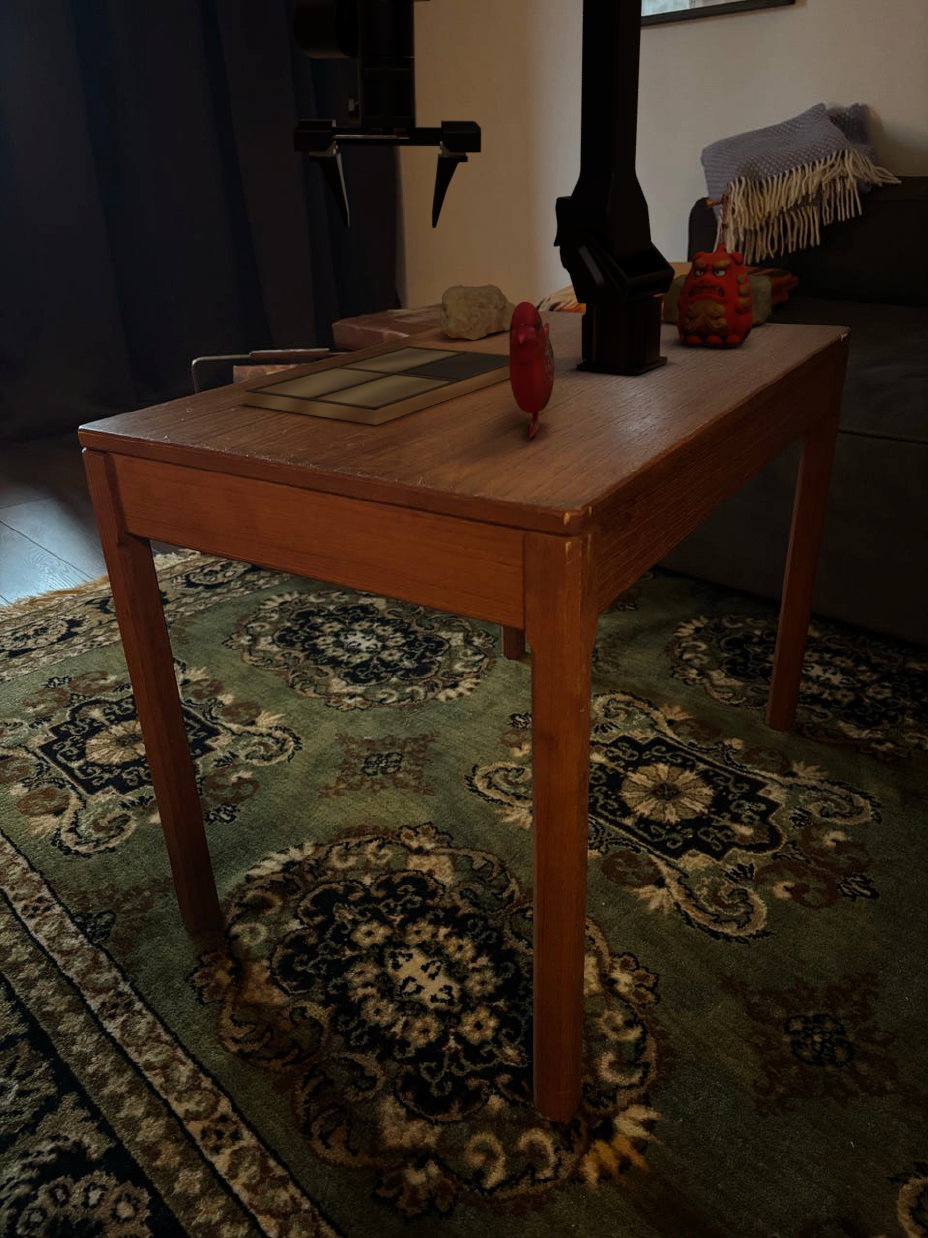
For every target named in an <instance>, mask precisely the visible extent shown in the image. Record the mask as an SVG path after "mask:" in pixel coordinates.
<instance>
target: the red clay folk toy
mask: <svg viewBox="0 0 928 1238" xmlns="http://www.w3.org/2000/svg"><path fill="white" fill-rule="evenodd" d="M731 193H732V191H731V182H726V191H724V192H723V193H722V197H721V199H713V198H712V197H708V198H707V199H705V202H706V206H705V208H706V209H707V210H708V209H709V210H710V209H711V208H713V207H715V206H720V205H721V206H722V221H721V224H720V226H721V233H720V238H719V240H718V244H717V248H716V249H715V250H714V251H713V252H711V253H708V252H704V251H699V252H697V253H695V255H694V256H693V257H692V261H691V266H690V269H689V271H688V272H687V273H686V274H687V276H686V278H685V281H684V284H683V286H682V288H681V289H680V294H679V299H678V310H679V315H678V320H677V323H676V328H677V329H676V330H677V332H678V340H679V342H680V343H681V344H682V345H683V344H686V345H695V346H697V345H704V346H709V347H711V348H731V347H738V346H739V347H740V344H741V343H743V342H745V341H746V340H747V338H748V337H749V335H750V334H751V332H752V330H753V325H754V324H753V314H752V303H753V296H752V289H751V284H750V280H749V277H748V275H749V274H748V272H747V270H746V267H745V265H744V263H743V261H744V258H743V253H741V252H739V251H733V252H728V250H727V236H726V235H727V234H726V232H727V230H728V229H729V228H730V226H729V225H730V224H729V222H728V220H727V217H728V213H729V204H730V195H731Z"/></svg>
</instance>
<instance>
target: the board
mask: <svg viewBox="0 0 928 1238" xmlns="http://www.w3.org/2000/svg"><path fill="white" fill-rule="evenodd" d="M509 355H510V354H502V353H491V352H490V353H489V352H480V351H479V352H478V351H470V350H469V351H467V350H458V349H447V348H435V347H424V346H414V345H406V346H403V347H399V348H395V349H391V350H387V351H384V352H381V353H377V354H373V355H370V356H366V357H363V358H358V359H354V360H350V361H348V362H344V363H340V364H337V365H336V364H335V365H333V366H329V367H325V368H322V369H318V370H315V371H311V372H308V373H304V374H300V375H297V376H292V377H288V378H285V379H282V380H278V381H275V382H271V383H267V384H262V385H259V386H256V387H252V388H249V389H245V396H246V402H247V403H246V404H247V406H251V407H257V408H264V409H270V410H277V411H283V412H289V413H296V414H302V415H309V416H315V417H322V418H328V419H334V420H335V419H336V420H340V421H341V420H342V421H347V422H355V423H361V424H367V425H372V426H373V425H374V426H378V425H381V424H383V423H386V422H389V421H392V420H395V419H398V418H400V417H403V416H406V415H409V414H412V413H414V412H418V411H420V410H423V409H426V408H429V407H432V406H435V405H437V404H440V403H443V402H445V401H449V400H451V399H454V398H457V397H461V396H463V395H466V394H468V393H471V392H474V391H477V390H480V389H483V388H486V387H488V386H492V385H494V384H497V383H500V382H503V381H506V380H509V379H510V367H509Z"/></svg>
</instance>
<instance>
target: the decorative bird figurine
mask: <svg viewBox="0 0 928 1238" xmlns="http://www.w3.org/2000/svg"><path fill="white" fill-rule="evenodd" d="M515 306H516V308H515V309H514V312H513V314H512V319H511V324H510V330H509V336H508V339H509V340H508V341H509V343H508V344H509V354H508V355H509V367H510V378H509V379H510V386H511V391H512V394H513V398H514V400H515V402H516V404H517V406H518V408H519V409H520V410H521V411H523V412H524V413H527V414H532V415H531V419H530V422H529V429H528V435H529V436H528V439H529V440H531V439H532V438H534V437H536V436H537V434H538V431H539V427H540V421H539V413H540V412H543V410H544V409H545V408H546V407H547V406H548V404H549V402H550V400H551V396H552V392H553V388H554V383H555V355H554V354H555V353H554V349H553V345H552V342H551V340H550V324H549V322H546V323H545V324H543V320H542V317H541V313H540V312H539V311H538V309H537V307H536V305H534V304H533V303H532V302H529V301H521V302H520V303H518V304H517V305H515Z"/></svg>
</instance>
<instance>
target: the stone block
mask: <svg viewBox="0 0 928 1238" xmlns="http://www.w3.org/2000/svg"><path fill="white" fill-rule="evenodd" d="M687 274H688V273H686V274H680V275H678V276H676V277H674V278H673V281H672V284H671V286H670V289H669V292H668V293H665V294H663V295H664V296H663V304H662V316H663V317H662V318H664V320H665V321H666V322H668V323H669V322H670V323H676V324H677V320H678V315H679V310H678V299H679V294H680V289H681V288H682V286H683V284H684V281H685V278H686V276H687ZM748 277H749V280H750V284H751V289H752V296H753V303H752V314H753V325H761V324H763V323H765V322H766V320H767V318H768V317H772V305H773V304H772V293H773V292H772V282H771V276H769V275H753V274H748Z"/></svg>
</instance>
